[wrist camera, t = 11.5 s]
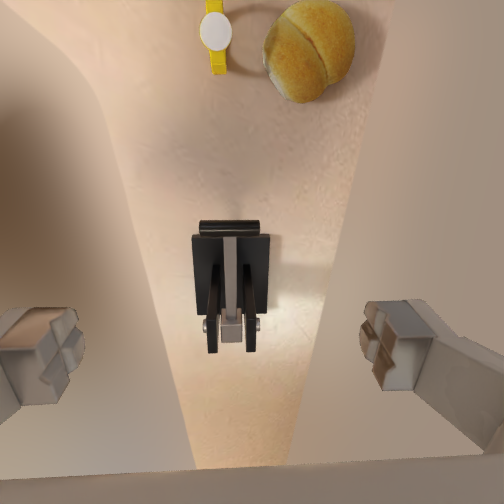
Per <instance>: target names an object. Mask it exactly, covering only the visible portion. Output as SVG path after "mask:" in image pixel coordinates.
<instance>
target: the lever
mask: <svg viewBox="0 0 504 504" xmlns="http://www.w3.org/2000/svg"><path fill="white" fill-rule="evenodd" d="M199 233H200V237H223V240H224V270H225V299H226V308H222V309H221V342H222V343H233V342H242V309H241V308H237V255H236V237H259V236H260V222H259V220H200V222H199Z"/></svg>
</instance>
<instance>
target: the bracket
mask: <svg viewBox="0 0 504 504" xmlns="http://www.w3.org/2000/svg"><path fill="white" fill-rule="evenodd" d="M269 249H270V236H269V234H260V236H259V237H236V255H237V308H241V309H242V314H244V323H245V340H246V352H255V351H256V331H260V319H259V318H256V314H266V313H267V294H268V271H269ZM192 252H193V265H194V278H195V291H196V304H197V315H207V316H206V319H204V320H203V333H207V344H208V353H217V352H218V336H219V319H220V315H221V309H222V308H226V299H225V270H224V240H223V237H200V235H192Z"/></svg>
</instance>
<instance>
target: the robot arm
mask: <svg viewBox="0 0 504 504" xmlns="http://www.w3.org/2000/svg"><path fill="white" fill-rule="evenodd" d="M364 314H365V316H366V318H367V320H366V321H365V322H364V323H363V324H362V325H361V328H360V333H359V336H360V346H361V349H362V352H363V354H364V356H365V358H366V359H367V360H369V361H370V362H372V363H373V368H372V372H373V374H374V376H375V378H376V380H377V381H378V383H379V385H380V387H381V389H382V391H406V390H408V391H409V390H414V393H416V394H417V395H418V396H419V397H420V398H421V399H423V400H424V401H425V402H426V403H427V404H429V405H430V406H431V407H432V408H433V409H435V410H436V411H437V412H438V413H439V414H441V415H442V416H443V417H444V418H445V419H446V420H448V421H449V422H450V423H451V424H452V425H454V426H455V427H456V428H457V429H459V430H460V431H461V432H462V433H463V434H464V435H466V436H467V437H468V438H469V439H470V440H472V441H473V442H474V443H475V444H476V445H478V446H479V447H480V448H481V449H482V450H484V452H483V454H482V455H464V456H445V457H426V458H408V459H407V458H406V459H388V460H370V461H351V462H333V463H316V464H297V465H278V466H260V467H240V468H221V469H202V470H184V471H163V472H144V473H124V474H105V475H87V476H68V477H50V478H49V477H48V478H30V479H11V480H0V504H504V356H503V355H501V354H498V353H497V352H494V351H493V350H490V349H488V348H486V347H484V346H482V345H480V344H478V343H476V342H474V341H472V340H470V339H468V338H466V337H458V335H457V334H456V333H455V332H454V331H453V330H452V329H451V328H450V327H449V326H448V325H447V324H446V323H445V322H444V321H443V320H442V319H441V318H440V317H439V316H438V315H437V314H436V313H435V311H434V310H433V309H432V308H431V307H430V306H429V305H428V304H427V303H426V302H425V301H423V300H421V299H411V300H401V301H369V302H368V303H367V304H366V306H365V310H364ZM78 320H79V318H78V316H77V313H76V310H75V309H73V308H70V307H69V308H68V307H65V308H63V307H61V308H60V307H58V308H57V307H53V308H52V307H51V308H50V307H45V308H44V307H43V308H42V307H40V308H39V307H36V308H35V307H34V308H12V309H9V310H7V311H6V312H5V313H4V314H3V315H2V316H1V317H0V425H1V424H2V423H3V422H5V421H6V420H7V419H8V418H9V417H11V416H12V415H13V414H14V413H16V412H17V411H18V410H19V409H20V408H21V406H27V405H43V404H57V403H58V401H59V400H60V398H61V396H62V394H63V392H64V391H65V389H66V387H67V386H68V384H69V382H70V379H69V376H68V374H69V373H71V372H72V371H74V370H75V369H77V368H78V366H79V365H80V363H81V361H82V359H83V355H84V351H85V339H84V335H83V332H81V331H80V330H79V329H78V328H76V327H75V326H76V324H77V322H78Z"/></svg>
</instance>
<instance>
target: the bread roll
mask: <svg viewBox="0 0 504 504" xmlns="http://www.w3.org/2000/svg"><path fill="white" fill-rule="evenodd" d="M262 50H263V65H264V67H265V69H266V71H267V73H268V75H269V77H270V79H271V81H272V82H273V84H274V85H275V87H276V89H277V90H278V91H279V92H280V94H281V96H282V97H283V98H284V99H285V100H290V101H293V102H296V103H307V102H310V101H313V100H315V99H316V98H318V97H319V96H320V95H321V94H322V93H323V92H324V90H325V88H326V87H327V86H328V85H330V84H334V83H336V82H338V81H340V80H341V79H342V78H343V77H345V75H346V74H347V73H348V71H349V69H350V66H351V64H352V60H353V57H354V52H355V37H354V29H353V26H352V23H351V20H350V18H349V16H348V15H347V13H346V12H345V11H344V10H343V9H342V8H341V7H340V6H339V5H337V4H335V3H334V2H331V1H329V0H301V1H299V2H296V3H295V4H293V5H292V6H290V7H289V8H287V9H286V10H285V11H284V12H283V13H282V15H281V16H280V17H279V18H278V19H277V20H276V21H275V22H274V23H273V25H272V26H271V28H270V29H269V31H268V33H267V35H266V37H265V40H264V43H263V47H262Z"/></svg>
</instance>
